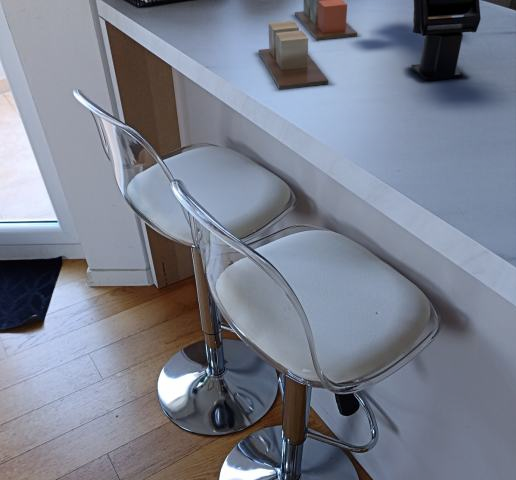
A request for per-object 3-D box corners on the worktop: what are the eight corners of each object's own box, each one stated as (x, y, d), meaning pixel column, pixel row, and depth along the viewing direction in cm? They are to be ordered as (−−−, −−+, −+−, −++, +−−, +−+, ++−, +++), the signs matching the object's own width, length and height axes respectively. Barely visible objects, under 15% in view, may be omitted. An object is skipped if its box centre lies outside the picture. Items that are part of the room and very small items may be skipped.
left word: (328, 84, 85) (329, 49, 82) (279, 89, 85) (278, 54, 81) (301, 48, 99) (301, 17, 95) (258, 53, 98) (257, 21, 94)
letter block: (345, 31, 103) (347, 4, 100) (323, 33, 103) (324, 6, 100) (339, 25, 106) (340, -2, 103) (317, 27, 106) (318, 0, 103)
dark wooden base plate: (357, 36, 103) (359, 5, 99) (316, 40, 102) (317, 9, 98) (330, 11, 116) (331, -17, 112) (294, 15, 115) (294, -13, 112)
